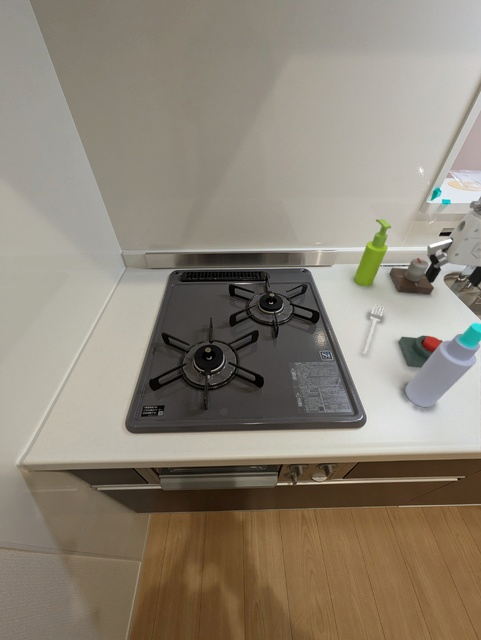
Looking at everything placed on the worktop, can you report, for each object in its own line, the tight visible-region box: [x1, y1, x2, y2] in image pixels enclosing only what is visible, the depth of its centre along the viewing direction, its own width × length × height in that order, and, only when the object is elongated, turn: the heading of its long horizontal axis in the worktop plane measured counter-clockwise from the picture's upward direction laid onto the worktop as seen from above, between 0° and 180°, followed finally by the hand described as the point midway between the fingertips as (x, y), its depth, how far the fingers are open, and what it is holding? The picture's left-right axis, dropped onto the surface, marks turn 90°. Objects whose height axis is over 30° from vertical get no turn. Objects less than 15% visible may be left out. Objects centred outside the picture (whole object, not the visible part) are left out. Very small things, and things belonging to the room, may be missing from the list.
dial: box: [404, 257, 430, 282], centre depth 88 cm, size 5×5×6 cm
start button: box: [422, 335, 441, 352], centre depth 67 cm, size 4×4×2 cm
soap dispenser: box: [353, 218, 392, 287], centre depth 86 cm, size 6×7×20 cm
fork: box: [363, 302, 385, 355], centre depth 76 cm, size 3×20×2 cm, turn 151°
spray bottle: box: [404, 322, 481, 408], centre depth 54 cm, size 6×6×22 cm
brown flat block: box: [388, 267, 434, 295], centre depth 91 cm, size 10×10×3 cm
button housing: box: [398, 335, 444, 369], centre depth 69 cm, size 10×8×4 cm
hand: (450, 281), depth 65 cm, fingers open, 9 cm apart
